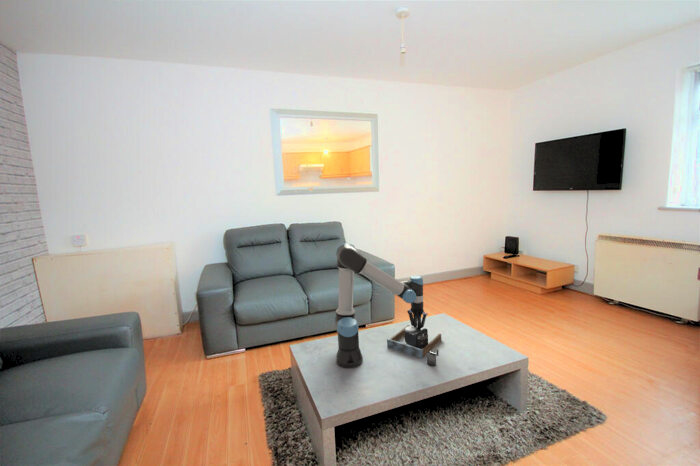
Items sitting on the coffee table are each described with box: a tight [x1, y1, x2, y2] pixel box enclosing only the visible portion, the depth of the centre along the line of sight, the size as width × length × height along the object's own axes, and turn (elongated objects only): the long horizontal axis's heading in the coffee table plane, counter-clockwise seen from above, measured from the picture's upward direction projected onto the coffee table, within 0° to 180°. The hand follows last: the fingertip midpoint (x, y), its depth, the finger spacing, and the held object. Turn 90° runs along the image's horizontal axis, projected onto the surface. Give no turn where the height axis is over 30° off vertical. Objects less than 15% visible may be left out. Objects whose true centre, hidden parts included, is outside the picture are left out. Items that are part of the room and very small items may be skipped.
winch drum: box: [426, 349, 440, 367], centre depth 170 cm, size 6×5×9 cm
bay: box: [386, 324, 442, 359], centre depth 194 cm, size 23×26×5 cm
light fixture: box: [404, 325, 429, 349], centre depth 192 cm, size 11×13×11 cm
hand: (417, 337), depth 197 cm, fingers closed
